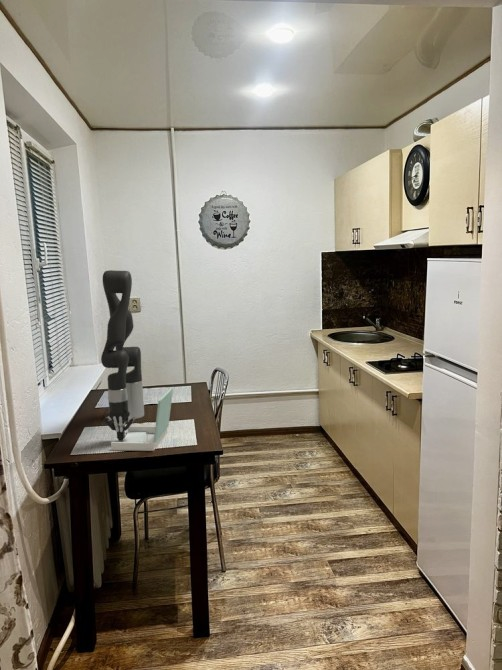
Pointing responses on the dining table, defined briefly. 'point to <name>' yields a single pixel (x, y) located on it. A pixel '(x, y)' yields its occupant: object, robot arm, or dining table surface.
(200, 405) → the dining table surface
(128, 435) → the hard drive
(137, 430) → the drive bay
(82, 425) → the dining table surface
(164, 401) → the cover
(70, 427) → the dining table surface
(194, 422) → the dining table surface
